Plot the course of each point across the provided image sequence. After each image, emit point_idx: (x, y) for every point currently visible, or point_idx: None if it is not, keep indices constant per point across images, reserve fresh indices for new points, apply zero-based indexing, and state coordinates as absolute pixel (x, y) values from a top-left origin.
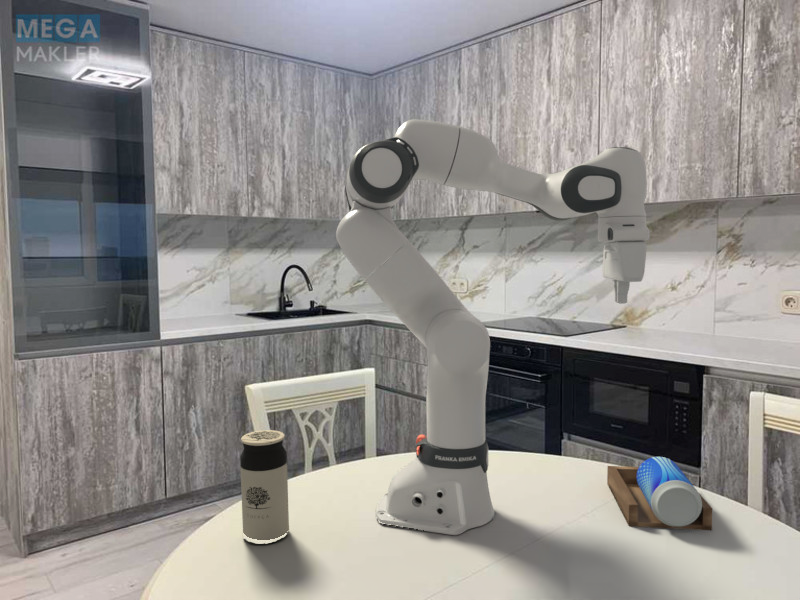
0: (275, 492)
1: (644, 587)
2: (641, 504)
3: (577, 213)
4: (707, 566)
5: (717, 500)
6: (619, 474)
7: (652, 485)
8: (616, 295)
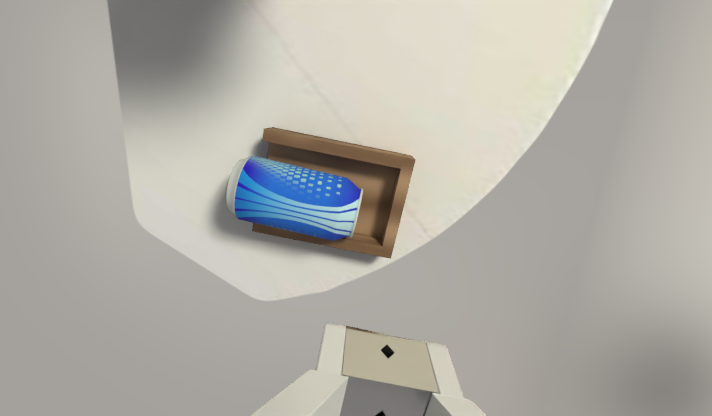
0: None
1: (128, 80)
2: (322, 168)
3: None
4: (178, 172)
5: (342, 272)
6: (375, 163)
7: (261, 167)
8: (380, 371)
